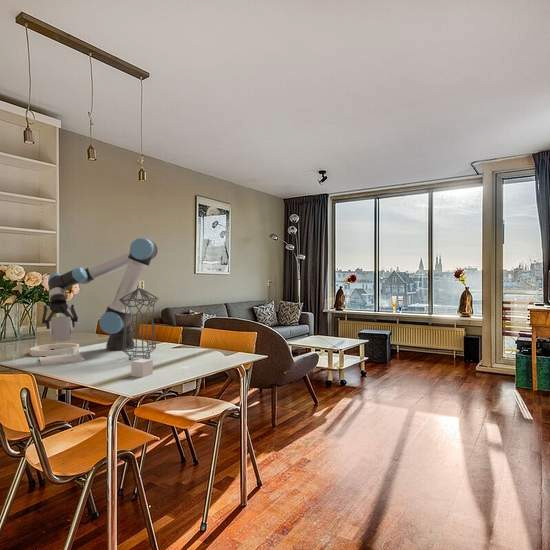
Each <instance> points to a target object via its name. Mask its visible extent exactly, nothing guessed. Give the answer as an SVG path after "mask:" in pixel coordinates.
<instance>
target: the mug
mask: <svg viewBox="0 0 550 550" xmlns="http://www.w3.org/2000/svg"><path fill="white" fill-rule="evenodd" d="M51 327H52V335H50V336H51V337H50V339H51V342H65V341H70V340H71V339H72V334H71V317H66V316H55V317H54V316H53V318H51Z"/></svg>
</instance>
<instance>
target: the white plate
mask: <svg viewBox="0 0 550 550" xmlns="http://www.w3.org/2000/svg"><path fill="white" fill-rule="evenodd" d="M63 348H64V349H63ZM51 349H54V350H51ZM77 351H79V352H80V344H79V343H74V342H73V343H72V342H69V343H65V342H63V343H62V342H61V343H51V344H50V343H49V344H41V345H36V346H33V347H30V348H29V356H30V355H32V356H33V357H36V356H56V355H65V354H70V353H72V354H75V353H74V352H76V353H78V352H77Z"/></svg>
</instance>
